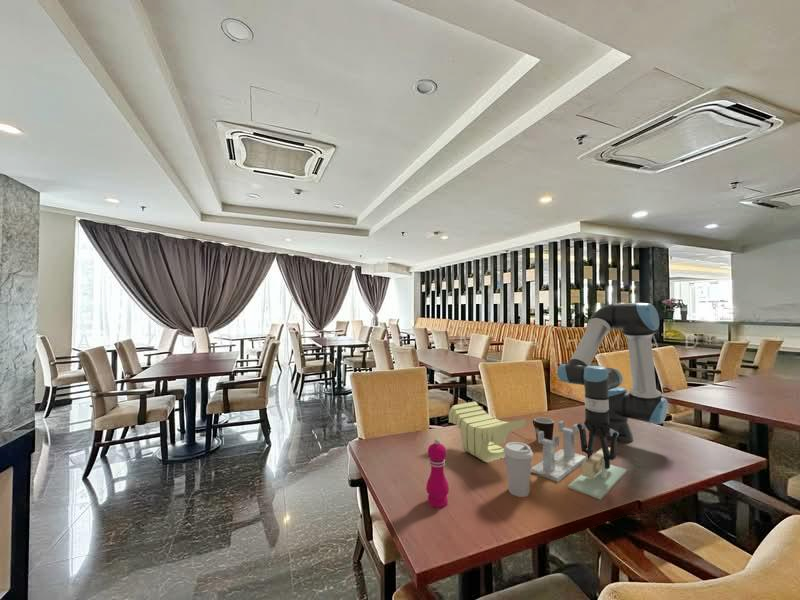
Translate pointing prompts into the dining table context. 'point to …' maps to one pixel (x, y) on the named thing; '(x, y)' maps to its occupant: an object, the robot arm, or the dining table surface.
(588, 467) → the wooden rail
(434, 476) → the pepper mill
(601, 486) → the green mat
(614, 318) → the robot arm
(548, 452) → the rail stand
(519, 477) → the coffee cup
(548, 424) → the coffee mug
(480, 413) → the slatted curved stool
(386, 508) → the dining table surface
